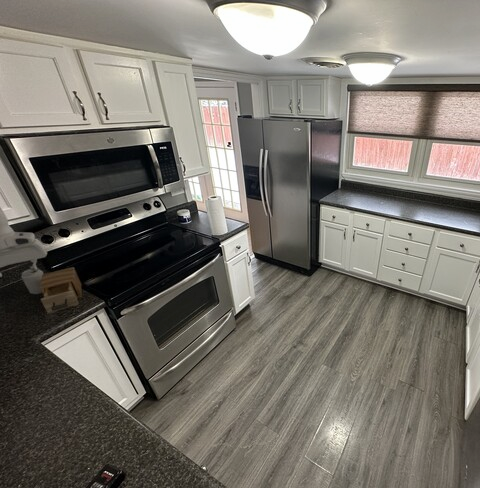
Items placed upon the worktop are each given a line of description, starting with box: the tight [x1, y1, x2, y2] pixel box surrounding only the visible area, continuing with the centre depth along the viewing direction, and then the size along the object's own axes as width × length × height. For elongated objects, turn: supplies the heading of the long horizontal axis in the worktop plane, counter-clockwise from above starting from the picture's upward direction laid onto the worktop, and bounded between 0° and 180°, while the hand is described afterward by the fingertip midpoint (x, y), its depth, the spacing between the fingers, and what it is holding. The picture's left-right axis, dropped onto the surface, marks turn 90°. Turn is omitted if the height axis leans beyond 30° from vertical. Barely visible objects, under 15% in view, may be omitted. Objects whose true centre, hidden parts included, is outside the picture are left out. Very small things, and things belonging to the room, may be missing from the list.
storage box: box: [40, 266, 83, 300], centre depth 132 cm, size 15×12×11 cm
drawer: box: [40, 282, 80, 314], centre depth 123 cm, size 19×11×9 cm, turn 41°
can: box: [20, 268, 44, 295], centre depth 134 cm, size 8×8×12 cm
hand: (17, 273), depth 103 cm, fingers open, 8 cm apart
